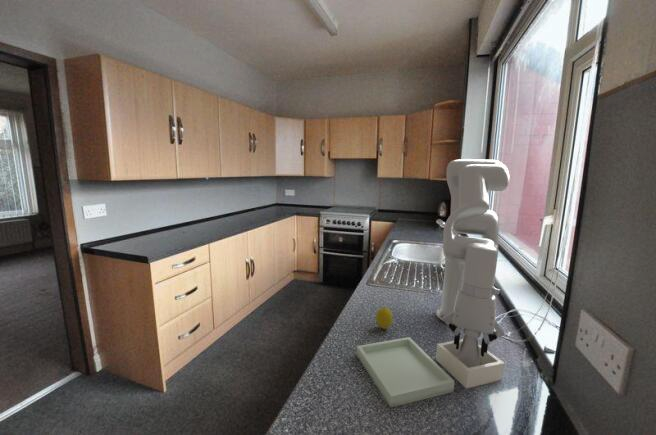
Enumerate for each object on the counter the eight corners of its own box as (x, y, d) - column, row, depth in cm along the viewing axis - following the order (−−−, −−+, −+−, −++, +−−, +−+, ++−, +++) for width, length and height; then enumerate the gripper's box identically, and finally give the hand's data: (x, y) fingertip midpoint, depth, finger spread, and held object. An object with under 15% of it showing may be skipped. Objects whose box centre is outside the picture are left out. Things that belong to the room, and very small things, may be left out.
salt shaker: (451, 365, 83) (456, 323, 80) (466, 360, 85) (470, 319, 83) (468, 378, 77) (474, 334, 75) (483, 373, 80) (489, 330, 77)
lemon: (391, 334, 97) (393, 312, 96) (375, 331, 98) (376, 310, 97) (391, 325, 103) (392, 304, 101) (375, 323, 104) (377, 303, 103)
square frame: (468, 352, 89) (469, 337, 88) (502, 379, 77) (504, 362, 76) (435, 359, 85) (437, 343, 84) (466, 388, 74) (468, 371, 73)
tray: (408, 345, 91) (409, 337, 91) (453, 391, 72) (454, 381, 72) (356, 355, 86) (357, 345, 85) (390, 407, 67) (391, 396, 66)
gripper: (512, 291, 77) (504, 352, 80) (444, 278, 84) (438, 334, 87) (516, 302, 70) (506, 368, 73) (441, 287, 78) (435, 348, 81)
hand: (469, 349), depth 80 cm, fingers open, 5 cm apart
